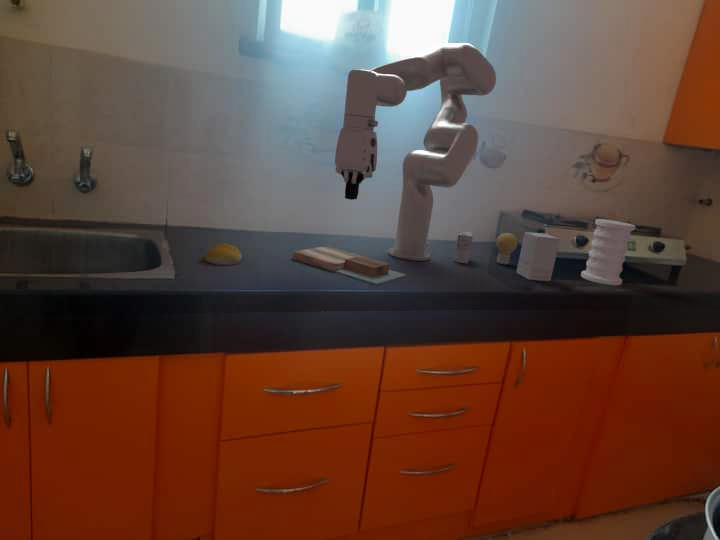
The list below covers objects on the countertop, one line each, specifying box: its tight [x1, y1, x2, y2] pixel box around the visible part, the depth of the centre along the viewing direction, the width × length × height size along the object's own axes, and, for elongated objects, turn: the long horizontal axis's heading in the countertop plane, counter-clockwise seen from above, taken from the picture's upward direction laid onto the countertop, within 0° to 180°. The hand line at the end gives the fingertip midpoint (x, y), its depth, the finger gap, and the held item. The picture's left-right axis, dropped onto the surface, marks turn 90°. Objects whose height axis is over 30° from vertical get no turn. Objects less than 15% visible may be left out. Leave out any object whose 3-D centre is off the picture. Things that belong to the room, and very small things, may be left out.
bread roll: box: [204, 243, 243, 266], centre depth 121 cm, size 8×9×4 cm
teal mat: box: [335, 269, 407, 286], centre depth 126 cm, size 14×12×1 cm
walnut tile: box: [344, 255, 390, 278], centre depth 126 cm, size 7×9×2 cm
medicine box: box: [453, 230, 473, 265], centre depth 155 cm, size 8×4×9 cm, turn 168°
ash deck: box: [292, 245, 368, 273], centre depth 133 cm, size 14×14×2 cm
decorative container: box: [580, 218, 636, 286], centre depth 152 cm, size 12×12×18 cm
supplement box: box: [515, 231, 561, 282], centre depth 144 cm, size 7×7×13 cm
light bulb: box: [495, 232, 518, 266], centre depth 157 cm, size 6×6×10 cm
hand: (350, 198), depth 127 cm, fingers closed
